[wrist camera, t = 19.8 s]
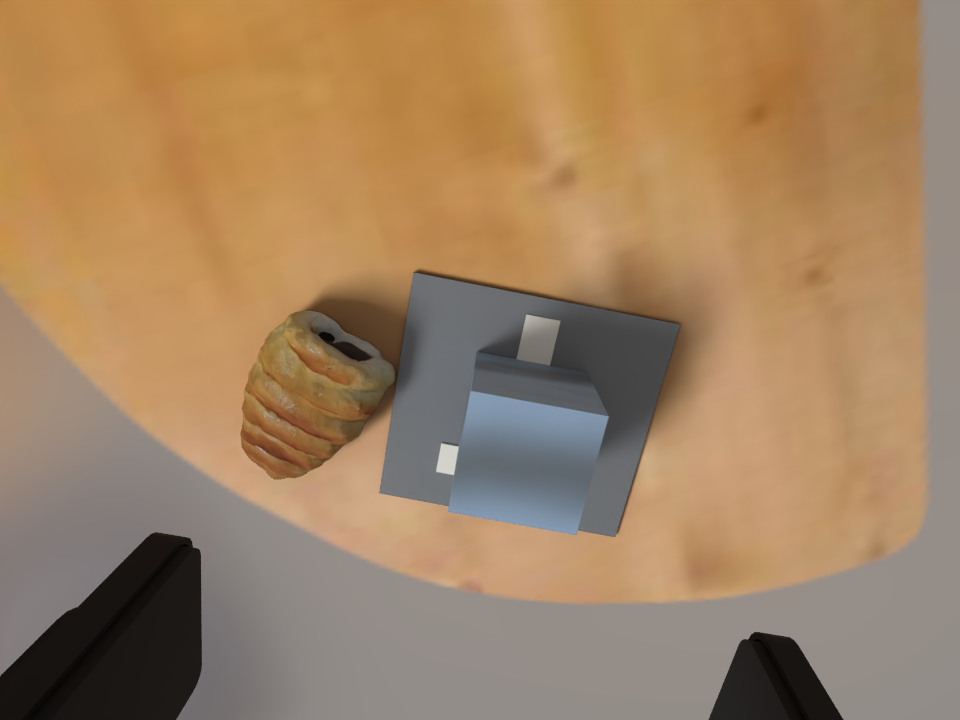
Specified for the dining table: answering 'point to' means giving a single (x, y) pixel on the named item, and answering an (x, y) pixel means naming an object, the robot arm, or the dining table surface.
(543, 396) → the slate blue cube
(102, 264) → the dining table surface
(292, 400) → the pastry
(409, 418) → the board
